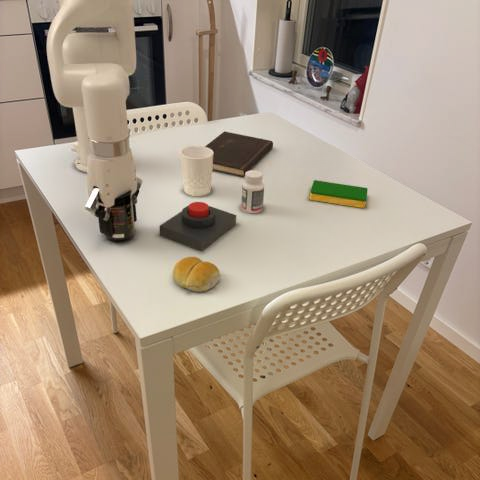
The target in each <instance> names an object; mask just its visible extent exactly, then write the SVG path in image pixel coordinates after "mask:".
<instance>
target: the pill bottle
mask: <svg viewBox="0 0 480 480" xmlns="http://www.w3.org/2000/svg"><path fill="white" fill-rule="evenodd" d="M244 179H245V180H244V181H243V182H242V184H241V199H240V200H241V201H240V209H241V210H242V211H243V212H245V213H249V214H257V213H260V212H262V211H263V208H264V197H265V183H264V181H263V173H262V171H259V170H256V169H255V170H254V169H250V170H249V171H247V172H246V173H245V175H244Z"/></svg>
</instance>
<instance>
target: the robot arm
mask: <svg viewBox="0 0 480 480" xmlns="http://www.w3.org/2000/svg"><path fill="white" fill-rule="evenodd" d="M58 4H59V10H58V12H57V13H56V15H55V16H54V18H53V19H52V21H51V23H50V26H49V29H48V32H47V37H46V56H47V64H48V70H49V74H50V75H49V76H50V81H51V87H52V91H53V94H54V97H55V99H56V100H57V102H58V103H59V105H60V106H62V107H66V108H72V114H73V119H74V127H75V134H76V139H77V140H75V141H74V142H73V145H71V146H70V151H72V152H73V153H76V155H77V156H76V158H75V160H74V166H75V168H76V169H77V170H79V171H81V172H84V173H86V182H87V193H88V199H87V202H86V204H85V206H84V208H85V210H86V211H87V212H89V213H90V214H91V215H93V216H94V217H96V218H97V219H98V226H99V232H100V233H101V234H102V235H104V234H105V235H107V236H110V237H111V236H113V226H112V220H111V219H110V218H109V216H110V211H111V206H113V205H115V204H114V200H115V198H117V197H119V196H121V195H123V194H125V193H126V192H128V191H130V190H132V203H133V214H134V223H136V222H137V221H138V218H137V207H136V206H137V205H136V204H138V196H139V195H140V189H141V187H142V185H143V180H142V178H140V177H138V176H137V169H136V164H135V158H134V156H133V155H134V154H133V151H132V149H131V145H130V137H131V135H130V133H129V126H128V113H127V112H128V111H127V102H126V101H127V99H128V96H130V91H131V90H130V87H131V86H130V79H129V76H132V75H134V73H135V72H136V70H137V48H136V46H137V45H136V31H135V19H134V18H135V17H134V5H133V0H58ZM76 28H111V29H113V30H114V31H113V32H97V31H94V32H90V31H89V32H73V33H71V32H72V31H74V29H76ZM101 201H102V202H103V203H102V202H101ZM102 206H103V207H105V210H104V213H103V212H102Z"/></svg>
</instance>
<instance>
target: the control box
mask: <svg viewBox="0 0 480 480" xmlns="http://www.w3.org/2000/svg"><path fill="white" fill-rule="evenodd" d="M208 206H209V215H208V216H207V217H202V218H195V217H192V216H190V215H189V205H187V206H185V207H183V208H182V209H181V211H179V212H177V214H175V215H174V216H172V217H171V218H169V219H167V220H166V221H164V222H163V223H162V224H160V225H159V236H160V237H162V238H165V239H167V240H171V241H173V242H176V243H179V244H181V245H184V246H186V247H189V248H192V249H194V250H197V251H199V252H203V251H205V249H206V248H208V247H209V246H210V245H211V244H213V243H214V242H215V241H217V240H218V239H219V238H221V237H222V236H223V235H224V234H226V233H227V232H228V231H229V230H231V229H232V228H234V227H235V226H236V225H237V214H234V213H231V212H228V211H226V210H222V209H219V208H217V207H213V206H210V205H208Z"/></svg>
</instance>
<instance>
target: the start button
mask: <svg viewBox="0 0 480 480" xmlns="http://www.w3.org/2000/svg"><path fill="white" fill-rule="evenodd" d="M188 206H189V215H190V216H192V217H195V218H202V217H207V216H208V215H209V206H210V205H209V204H208V203H206V202H204V201H194V202H191V203H189V204H188Z"/></svg>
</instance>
